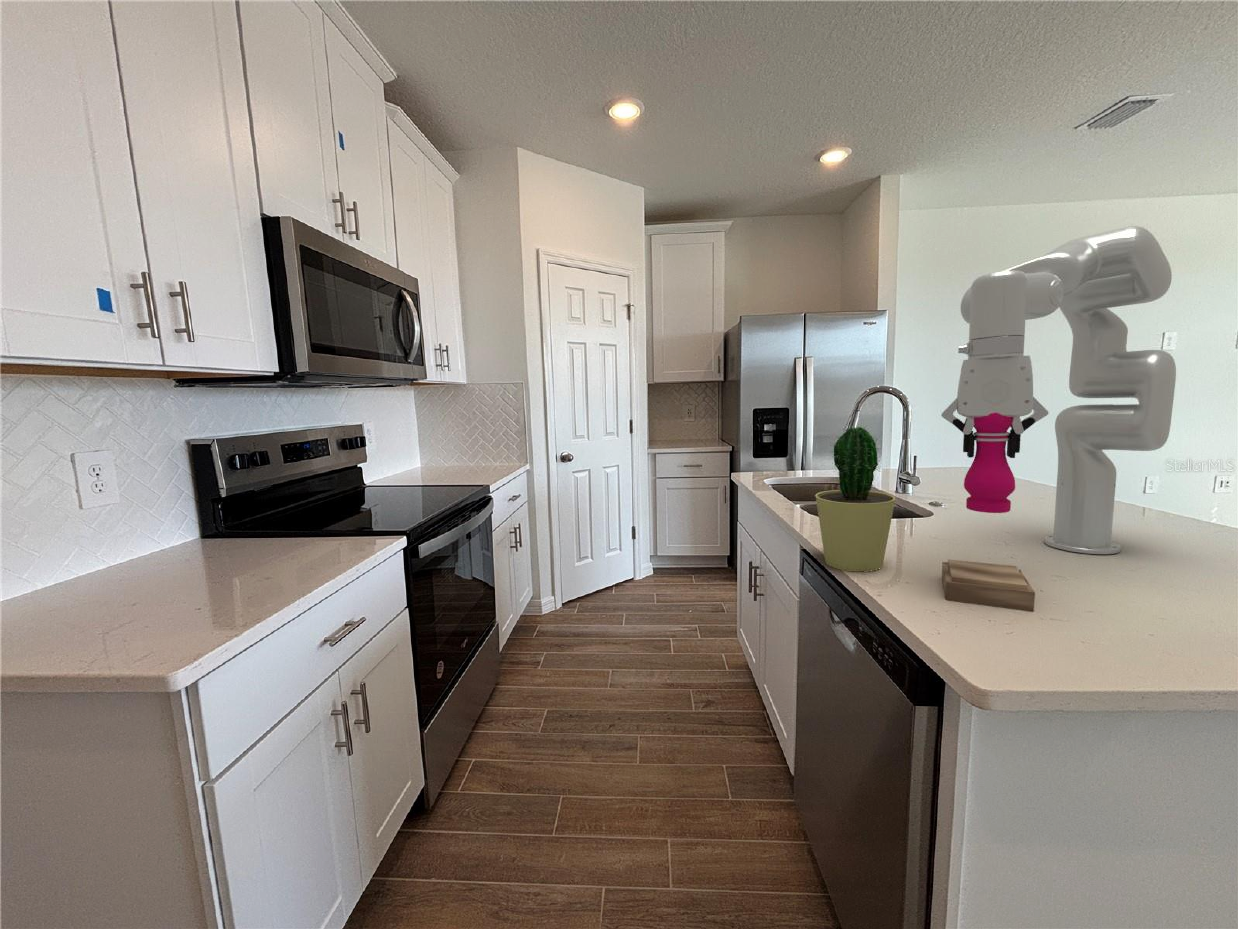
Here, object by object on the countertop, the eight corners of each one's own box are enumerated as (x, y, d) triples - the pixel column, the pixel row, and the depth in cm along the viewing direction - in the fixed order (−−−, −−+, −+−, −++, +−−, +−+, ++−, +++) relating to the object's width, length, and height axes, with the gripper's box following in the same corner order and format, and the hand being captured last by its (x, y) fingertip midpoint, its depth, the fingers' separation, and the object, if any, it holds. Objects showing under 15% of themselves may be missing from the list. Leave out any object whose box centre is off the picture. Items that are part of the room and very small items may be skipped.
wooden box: (941, 577, 98) (942, 557, 97) (1019, 586, 92) (1020, 565, 92) (946, 599, 88) (946, 577, 87) (1033, 611, 82) (1035, 587, 81)
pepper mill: (999, 516, 83) (1006, 394, 81) (954, 508, 89) (958, 395, 87) (1022, 510, 86) (1029, 392, 84) (976, 503, 93) (981, 394, 90)
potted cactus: (853, 548, 118) (855, 421, 114) (911, 568, 104) (915, 423, 100) (799, 558, 113) (799, 425, 109) (852, 580, 99) (855, 427, 95)
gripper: (936, 352, 85) (933, 458, 88) (1068, 343, 77) (1060, 460, 79) (934, 355, 92) (931, 453, 94) (1055, 346, 84) (1048, 455, 86)
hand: (990, 455), depth 87 cm, fingers closed on pepper mill, 5 cm apart
